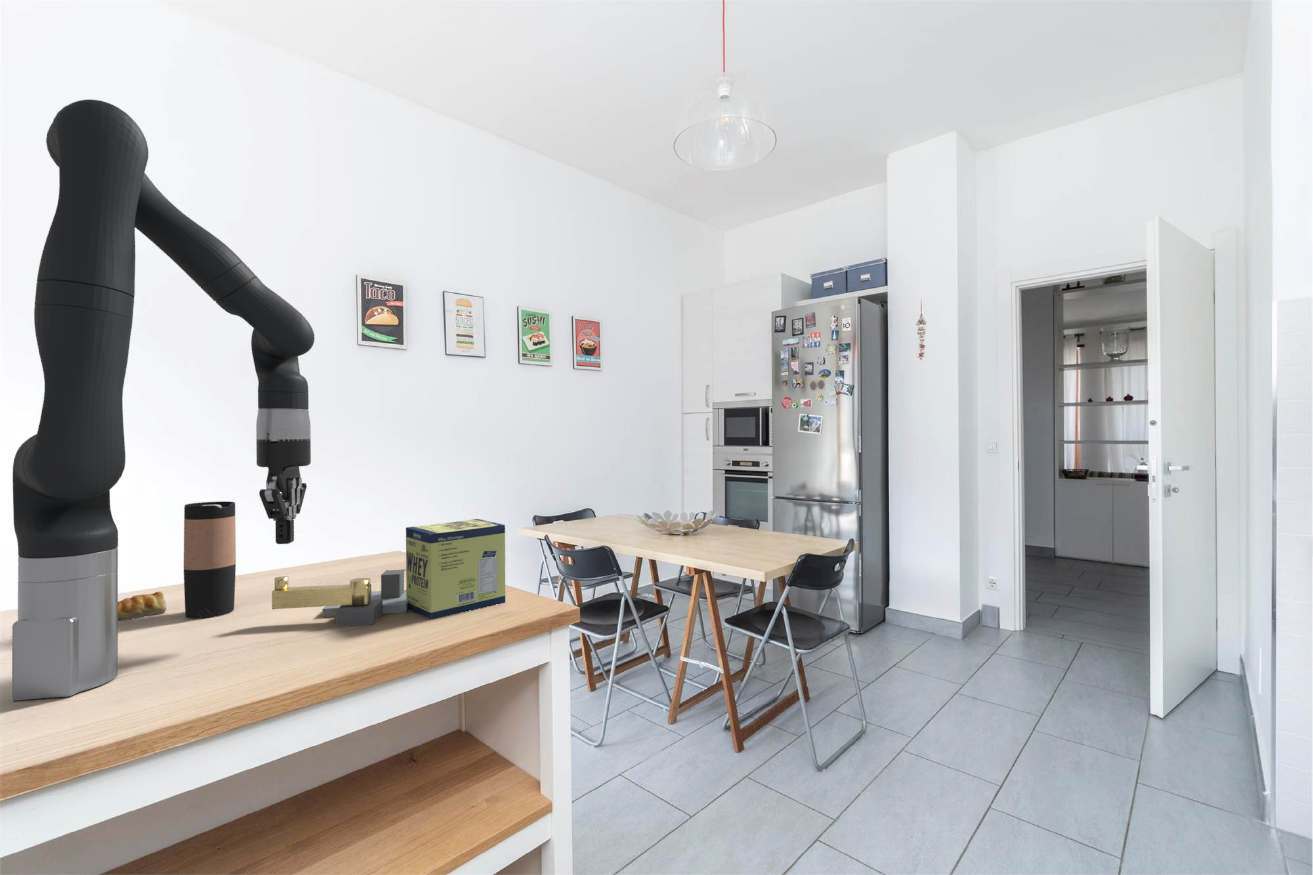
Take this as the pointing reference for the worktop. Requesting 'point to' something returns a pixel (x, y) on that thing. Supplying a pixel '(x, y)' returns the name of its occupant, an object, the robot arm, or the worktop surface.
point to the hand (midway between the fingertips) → (284, 543)
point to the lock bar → (320, 594)
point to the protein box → (455, 567)
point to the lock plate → (374, 602)
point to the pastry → (141, 606)
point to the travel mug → (209, 559)
